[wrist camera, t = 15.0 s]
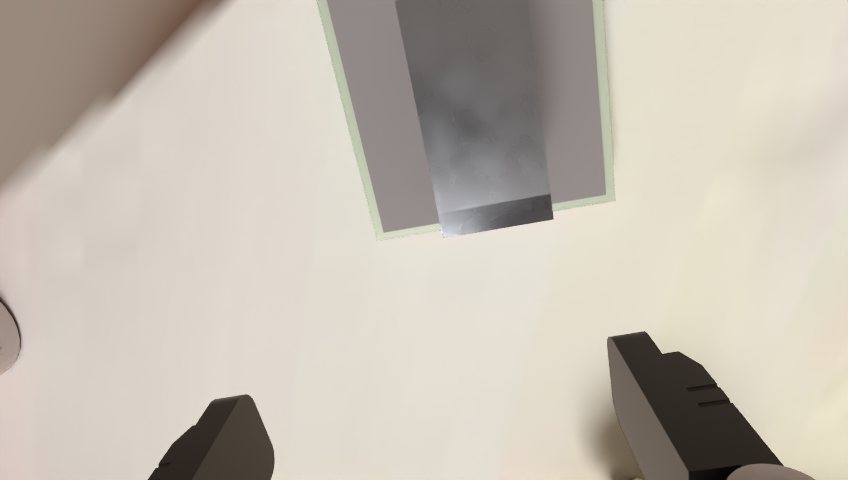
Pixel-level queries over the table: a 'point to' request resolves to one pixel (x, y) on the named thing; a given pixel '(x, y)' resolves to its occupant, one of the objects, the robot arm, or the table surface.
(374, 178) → the stand
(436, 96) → the block
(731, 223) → the table surface
